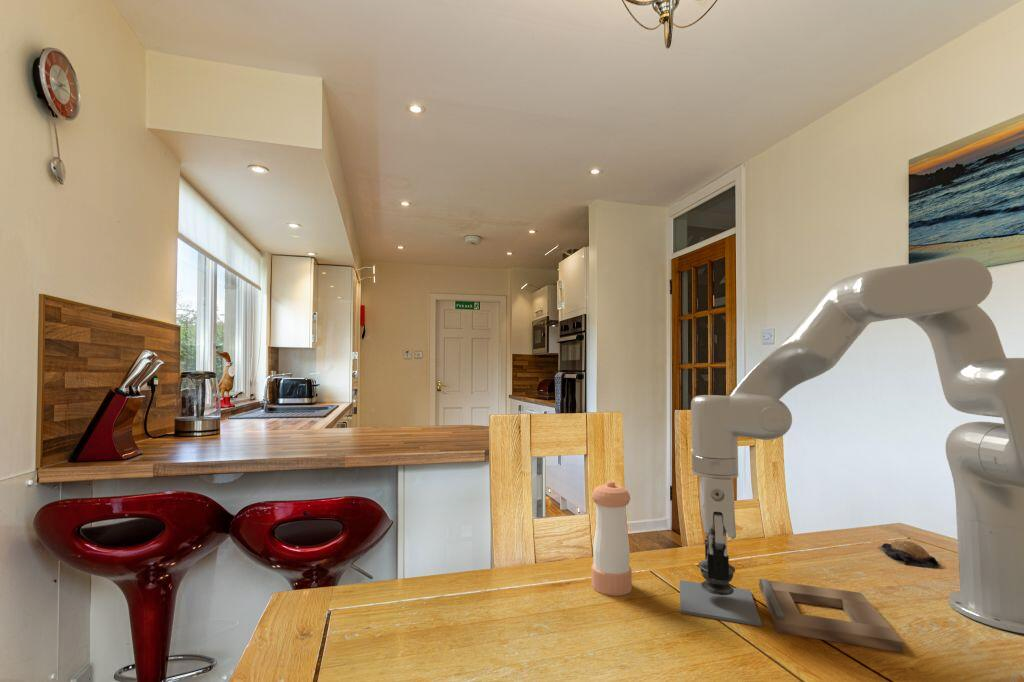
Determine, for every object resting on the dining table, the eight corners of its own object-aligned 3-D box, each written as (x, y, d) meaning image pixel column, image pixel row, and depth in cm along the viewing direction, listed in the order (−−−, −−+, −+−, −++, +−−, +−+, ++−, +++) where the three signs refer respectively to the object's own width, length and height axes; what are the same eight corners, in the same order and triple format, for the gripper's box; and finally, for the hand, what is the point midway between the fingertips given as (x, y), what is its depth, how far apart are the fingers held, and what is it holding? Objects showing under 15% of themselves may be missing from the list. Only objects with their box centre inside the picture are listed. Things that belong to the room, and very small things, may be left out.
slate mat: (749, 592, 86) (749, 589, 86) (761, 626, 74) (761, 623, 74) (679, 582, 90) (679, 580, 90) (680, 613, 78) (680, 610, 78)
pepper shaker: (639, 591, 86) (638, 484, 87) (605, 598, 83) (604, 487, 84) (616, 575, 92) (616, 476, 94) (584, 581, 90) (584, 478, 91)
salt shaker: (728, 581, 85) (727, 513, 85) (741, 597, 79) (739, 523, 80) (694, 579, 85) (693, 511, 86) (704, 595, 79) (703, 522, 80)
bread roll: (874, 549, 109) (873, 533, 109) (917, 553, 107) (916, 536, 107) (898, 567, 99) (897, 549, 99) (947, 572, 96) (946, 553, 97)
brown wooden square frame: (861, 601, 83) (861, 589, 83) (903, 652, 68) (902, 638, 68) (759, 587, 88) (759, 576, 88) (777, 632, 73) (776, 618, 73)
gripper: (745, 477, 74) (747, 596, 73) (732, 458, 90) (734, 555, 89) (693, 474, 76) (695, 589, 75) (690, 456, 93) (691, 550, 92)
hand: (716, 570), depth 82 cm, fingers closed on salt shaker, 5 cm apart
